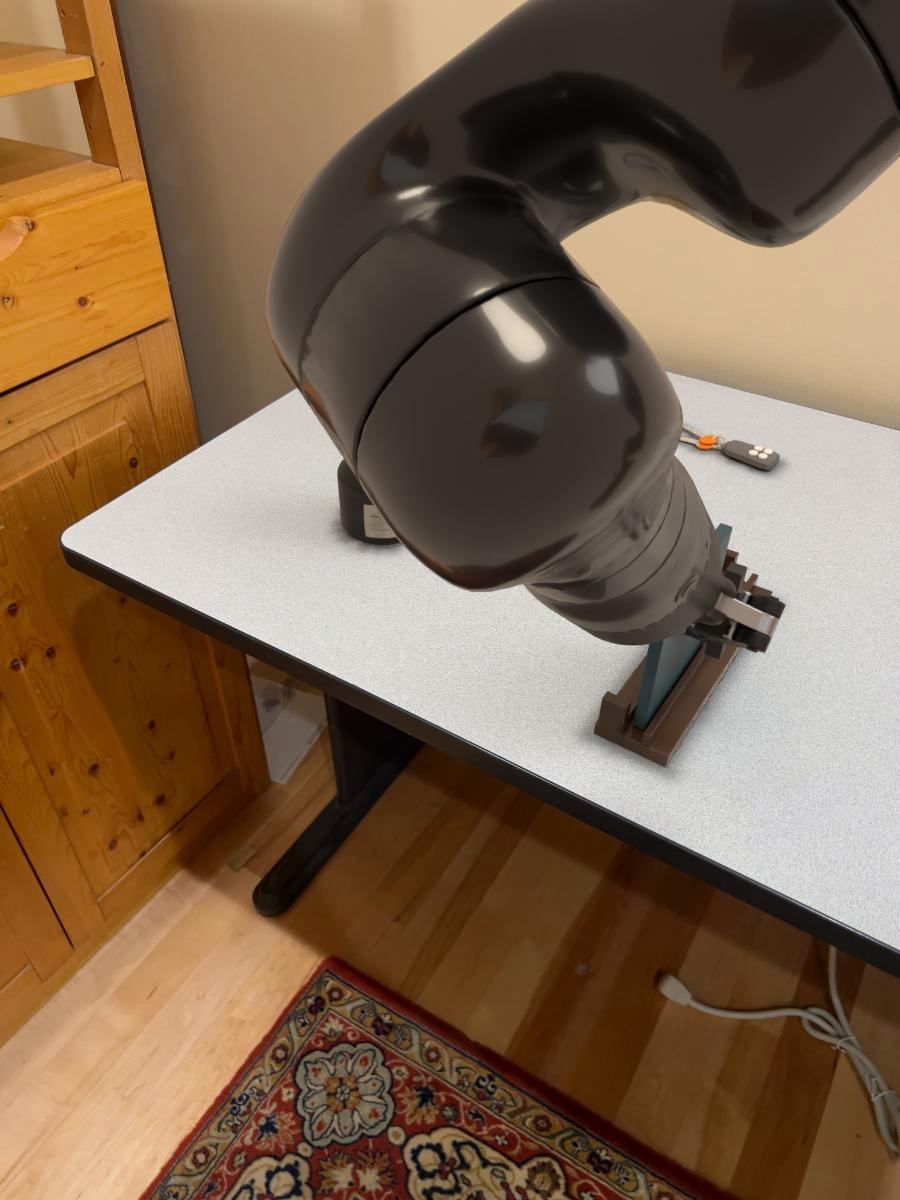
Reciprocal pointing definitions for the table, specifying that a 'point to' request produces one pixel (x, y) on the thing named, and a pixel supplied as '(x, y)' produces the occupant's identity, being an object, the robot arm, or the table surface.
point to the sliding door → (679, 650)
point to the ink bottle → (360, 511)
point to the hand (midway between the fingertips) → (679, 613)
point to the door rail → (668, 699)
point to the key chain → (736, 449)
